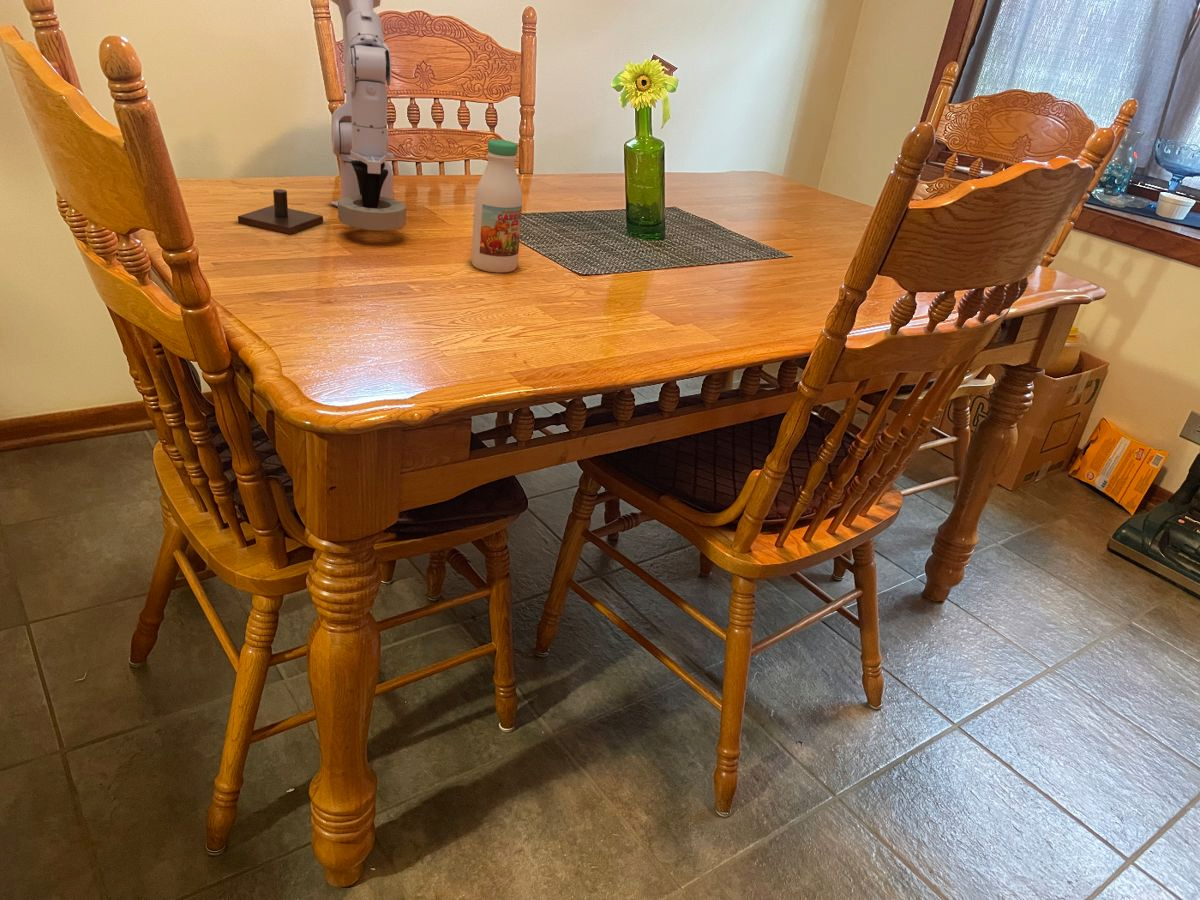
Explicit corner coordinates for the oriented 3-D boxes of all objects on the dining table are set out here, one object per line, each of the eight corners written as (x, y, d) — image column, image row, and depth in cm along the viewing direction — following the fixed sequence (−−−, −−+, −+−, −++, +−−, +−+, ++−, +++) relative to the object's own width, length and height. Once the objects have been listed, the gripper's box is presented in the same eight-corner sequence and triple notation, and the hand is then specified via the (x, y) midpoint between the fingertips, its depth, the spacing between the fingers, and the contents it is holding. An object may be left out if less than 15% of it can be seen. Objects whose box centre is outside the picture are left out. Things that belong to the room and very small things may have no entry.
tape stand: (273, 211, 148) (271, 180, 146) (323, 222, 147) (322, 191, 144) (238, 223, 140) (235, 190, 137) (290, 234, 138) (288, 201, 136)
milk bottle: (462, 266, 136) (469, 139, 126) (484, 256, 142) (492, 134, 133) (503, 277, 134) (514, 149, 124) (524, 266, 140) (535, 144, 131)
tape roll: (378, 209, 149) (378, 193, 147) (418, 226, 143) (418, 208, 141) (325, 215, 141) (325, 198, 139) (364, 233, 135) (364, 215, 134)
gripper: (399, 135, 133) (398, 219, 140) (388, 118, 145) (387, 196, 152) (354, 131, 131) (355, 217, 138) (346, 115, 142) (347, 194, 149)
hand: (369, 206), depth 144 cm, fingers closed on tape roll, 3 cm apart
